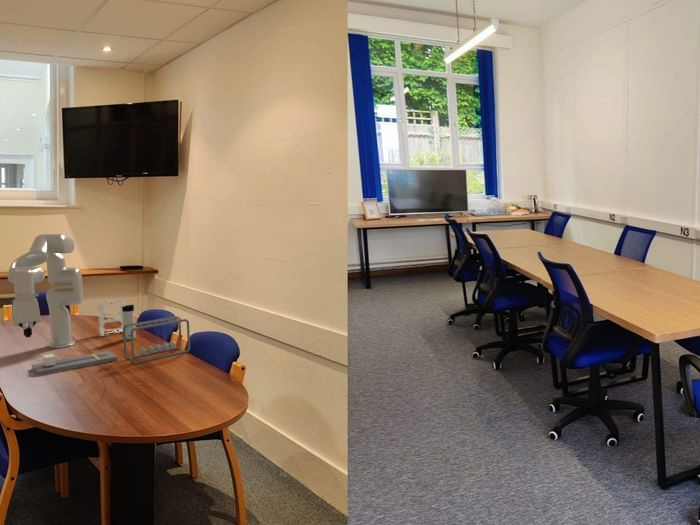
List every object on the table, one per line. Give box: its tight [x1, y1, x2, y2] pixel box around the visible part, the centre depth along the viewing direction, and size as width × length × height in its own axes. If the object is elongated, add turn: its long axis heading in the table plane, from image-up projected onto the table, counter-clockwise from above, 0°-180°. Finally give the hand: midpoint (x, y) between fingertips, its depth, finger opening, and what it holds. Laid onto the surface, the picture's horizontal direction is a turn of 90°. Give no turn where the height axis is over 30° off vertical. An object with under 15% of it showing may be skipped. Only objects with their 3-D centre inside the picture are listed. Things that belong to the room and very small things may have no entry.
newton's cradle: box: [122, 315, 191, 365], centre depth 255 cm, size 30×10×18 cm, turn 135°
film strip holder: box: [97, 299, 126, 337], centre depth 300 cm, size 14×14×20 cm
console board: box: [31, 350, 118, 377], centre depth 242 cm, size 13×34×2 cm, turn 132°
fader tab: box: [42, 353, 56, 366], centre depth 234 cm, size 5×4×4 cm
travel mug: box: [122, 304, 137, 342], centre depth 286 cm, size 6×7×20 cm
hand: (28, 336), depth 228 cm, fingers closed
